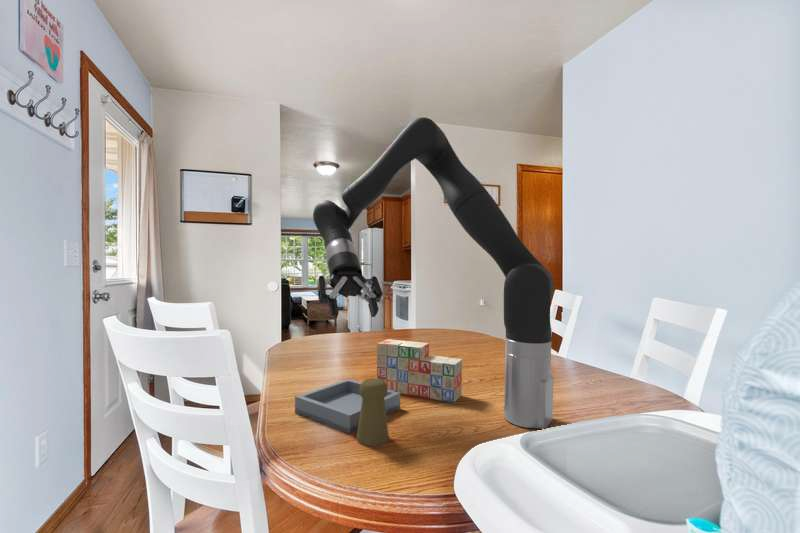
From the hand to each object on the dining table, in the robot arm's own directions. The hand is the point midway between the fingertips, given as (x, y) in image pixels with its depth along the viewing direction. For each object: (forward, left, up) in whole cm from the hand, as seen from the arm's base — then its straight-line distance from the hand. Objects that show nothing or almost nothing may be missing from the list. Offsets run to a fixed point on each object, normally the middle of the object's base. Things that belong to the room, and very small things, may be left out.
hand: (355, 315), depth 82 cm
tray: (+3, -1, -22) cm, 22 cm away
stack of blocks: (-2, -21, -22) cm, 31 cm away
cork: (-10, +6, -22) cm, 25 cm away
